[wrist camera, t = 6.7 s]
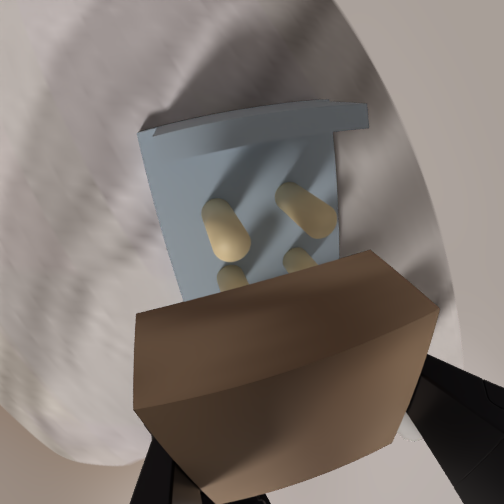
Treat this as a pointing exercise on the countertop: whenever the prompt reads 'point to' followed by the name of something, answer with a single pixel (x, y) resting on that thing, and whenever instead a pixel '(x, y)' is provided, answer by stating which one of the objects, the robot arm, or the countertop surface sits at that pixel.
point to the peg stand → (248, 191)
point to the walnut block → (282, 374)
